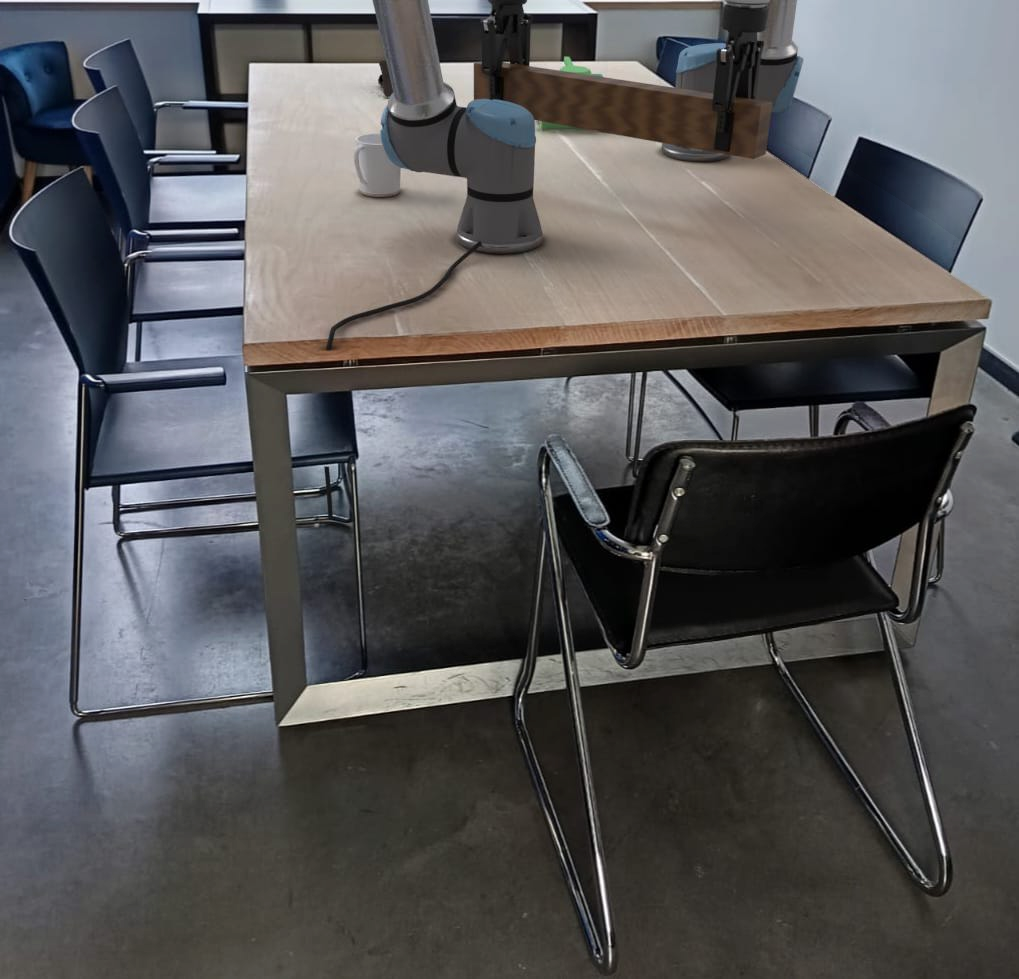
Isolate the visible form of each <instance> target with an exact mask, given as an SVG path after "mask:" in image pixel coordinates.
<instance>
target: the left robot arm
mask: <svg viewBox="0 0 1019 979" xmlns="http://www.w3.org/2000/svg"><path fill="white" fill-rule="evenodd" d="M487 1H488V3H490V5H491V8H490V9H491V10H490V13H489V16H488V17H487V18H481V19H480V22H479V25H480V29H481V61H482V73H484V74H485V75H488V76H489V93H490V100H489V99H477V100H474V99H472V100H471V101H469V102H468V104H467V106H466V107H465V106H458V105H457V100H456V99H457V98H456V94H455V90H454V89H453V87H452V86H451V85H449V84H448V83H447V82H444V79H443V72H442V68H441V62H440V58H439V52H438V46H437V40H436V35H435V31H434V25H433V20H432V14H431V10H430V5H429V4H430V3H429V0H372V4H373V9H374V12H375V18H376V22H377V26H378V31H379V34H380V39H381V44H382V48H383V52H384V56H385V60H386V61H387V66H388V70H389V74H390V79H391V83H392V87H393V94H392V95H391V96H390V97H388V100H387V104H386V106H385V107H384V109H383V112H382V114H381V118H380V125H381V130H380V132H379V133H381V141H382V145H383V148H384V151H385V153H386V155H387V157H388V158H389V159H390V161H391V162H392V163H393V164H395V165H396V166H398V167H400V168H401V169H404V170H409V171H411V172H415V173H426V174H427V173H429V174H435V175H440V176H441V175H442V176H449V177H455V178H464V179H466V192H467V193H466V198H465V202H464V205H463V209H462V211H461V214H460V218H459V220H458V224H457V227H456V241H457V243H458V244H459V245H461V246H462V247H464V248H466V249H468V250H467V251H466V252H465V253H464V254H462V255H461V256H460V257H459V258H457V260H455V262H453V263H452V264H451V266H450V267H449V268H448V270H447V271H446V272H445V274H444V276H442V278H441V279H440V280H439V281H438V282H437V283H436V284H434V286H432V287H431V288H430V289H428V290H427V291H425V292H423V293H422V294H419V295H417V296H415V297H414V296H413V297H412V298H408V299H405V300H401V301H398V302H394V303H390V304H386V305H383V306H380V307H377V308H374V309H370V310H367V311H363V312H359V313H356V314H353V315H350V316H348V317H346V318H342V320H340V321H338V322H337V323H335V324H334V325H333V326H331V328H330V330H329V333H328V334H329V335H328V339H327V342H326V347H325V351H331V350H332V347H333V342H334V338H335V335H336V331H337V330H339V329H341V327H343V326H344V325H347V324H348V323H350V322H353V321H356V320H360V319H363V318H367V317H370V316H374V315H376V314H380V313H383V312H386V311H390V310H393V309H397V308H400V307H404V306H409V305H412V304H414V303H416V302H419V301H421V300H424V299H426V298H427V297H430V296H431V295H433V293H435V292H436V291H437V290H439V289H440V288H441V286H442V285H443V284H444V283H446V282H447V280H448V279H449V278H450V276H451V275H452V273H453V272H454V271H455V269H456V268H457V267H458V266H459V265H460V264H461V263H462V262H463V261H464V260H466V259H467V258H468V257H469V256H470V255H471V254H473V253H474V252H479V253H486V254H497V255H499V254H500V255H506V254H507V255H508V254H517V253H524V252H527V251H530V250H533V249H536V248H538V247H539V246H540V245H541V244H542V243H543V229H542V224H541V221H540V220H541V219H540V218H539V214H538V213H539V212H538V210H537V206H536V204H535V199H534V184H535V158H536V143H537V137H536V120H534V117H533V115H532V114H531V113H530V112H529V111H528V110H527V109H526V108H524V107H522V106H520V105H517V104H514V103H511V102H507V101H503V83H504V77H501V70H502V64H503V62H504V57H505V51H506V45H507V50H508V58H509V63H512V64H518V65H525V66H530V60H531V59H530V58H531V30H532V29H531V28H532V24H533V19H534V16H533V14H531V13H526V12H525V10H524V6H523V5H526V4H527V3H528V0H487ZM495 69H496V70H495ZM323 469H324V480H325V491H326V503H327V520H329V521H332V520H334V515H333V514H334V513H333V511H334V510H333V498H332V497H333V495H332V483H331V473H330V466H326V465H325V466H324V467H323Z"/></svg>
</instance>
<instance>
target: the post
mask: <svg viewBox="0 0 1019 979" xmlns="http://www.w3.org/2000/svg"><path fill="white" fill-rule="evenodd" d="M495 70H496V69H495ZM559 70H560V69H551V68H545V67H537V66H532V65H529V66H525V65H518V64H512V63H510V62H505V61H503V64H502V70H501V77H504V83H503V101H507V102H511V103H514V104H517V105H520V106H522V107H524V108H526V109H527V110H528V111H529V112H530V113H531V114H532V115H533V117H534V121H537V122H540V121H543V122H548V123H554V124H559V125H565V126H571V127H576V128H582V129H587V130H586V131H592V132H593V131H594V132H598V133H605V134H610V135H616V136H621V137H628V138H633V139H639V140H645V141H650V142H654V143H655V142H656V143H661V144H662V143H666V144H671V145H677V146H682V147H688V148H694V149H699V150H705V151H710V152H716V153H722V154H727V155H728V156H734V157H737V158H738V157H739V158H745V159H749V160H750V159H751V160H756V159H758V158H760V157H762V156H764V155H766V154H767V149H768V148H767V146H768V141H769V140H768V139H769V132H770V131H769V130H770V125H771V119H772V118H771V117H772V112H771V111H772V103H773V102H768V101H761V100H754V99H747V98H741V97H735V99H734V104H733V108H732V113H734V120H733V128H732V136H731V144H730V151H729V152H724V151H719V150H714V142H715V134H716V125H717V117H718V112H717V111H713V110H712V102H713V93H707V92H700V91H694V90H687V89H680V88H675V87H672V86H665V85H659V84H652V83H646V82H639V81H633V80H625V79H618V78H612V77H607V76H603V77H599V76H593V75H586V74H579V73H572V72H566V71H559ZM477 99H489V100H490V93H489V76H488V75H485V74H484V73H482V60H481V61H477V62H474V63H473V100H477Z"/></svg>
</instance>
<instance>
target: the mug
mask: <svg viewBox="0 0 1019 979" xmlns="http://www.w3.org/2000/svg"><path fill="white" fill-rule="evenodd" d="M354 142H355V144H354V145H355V148H354V150H353V155H352V158H353V164H354V169H355V172H356V175H357V178H358V183H359V191H360V193H361V194H362V195H365V196H367V197H374V198H386V197H393V196H396V195H398V194H399V193H400V192H401V175H402V174H401V170H402V168H400V167H398V166H396V165H395V164H393V163H392V162H391V161H390V159H389V158H388V157H387V155H386V153H385V151H384V148H383V145H382V141H381V132H378V133H377V132H374V133H365V134H364V133H363V134H361V135H358V136H356V137H355V138H354Z"/></svg>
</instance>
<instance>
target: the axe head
mask: <svg viewBox="0 0 1019 979" xmlns="http://www.w3.org/2000/svg"><path fill="white" fill-rule="evenodd" d="M378 66H379V68H380V72H381V74H379V75H378V79H377V84H378V85H379V86H380V87H381V88H382V89H383V95H384V96H385V97H388V98H390V96H391V95H392V94H393V87H392V83H391V79H390V74H389V70H388V66H387V61H386V59H385V60H380V61H379V62H378Z"/></svg>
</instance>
